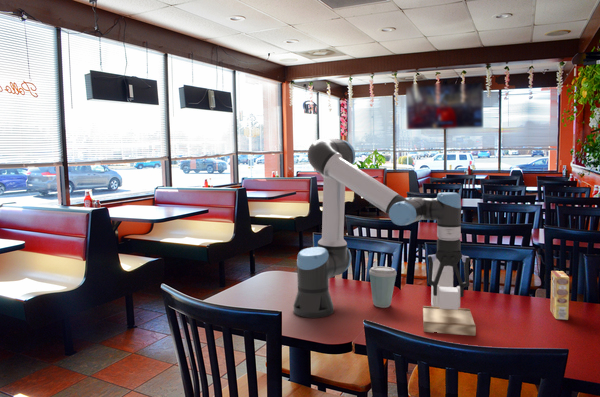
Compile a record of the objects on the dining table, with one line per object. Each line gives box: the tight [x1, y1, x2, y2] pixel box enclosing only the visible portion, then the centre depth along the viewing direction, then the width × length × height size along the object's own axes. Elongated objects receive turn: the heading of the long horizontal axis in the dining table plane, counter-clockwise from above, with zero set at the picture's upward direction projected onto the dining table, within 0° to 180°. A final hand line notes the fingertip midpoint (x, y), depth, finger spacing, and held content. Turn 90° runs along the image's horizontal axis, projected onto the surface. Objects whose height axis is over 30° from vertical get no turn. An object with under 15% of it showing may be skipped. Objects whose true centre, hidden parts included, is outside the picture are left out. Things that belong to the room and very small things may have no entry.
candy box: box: [550, 270, 570, 321], centre depth 159 cm, size 9×4×15 cm, turn 162°
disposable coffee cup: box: [368, 266, 398, 309], centre depth 174 cm, size 11×11×15 cm
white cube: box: [439, 286, 459, 310], centre depth 152 cm, size 6×6×6 cm
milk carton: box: [430, 258, 454, 307], centre depth 169 cm, size 7×7×19 cm
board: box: [422, 305, 477, 337], centre depth 153 cm, size 16×16×3 cm
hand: (448, 305), depth 153 cm, fingers closed on white cube, 6 cm apart
